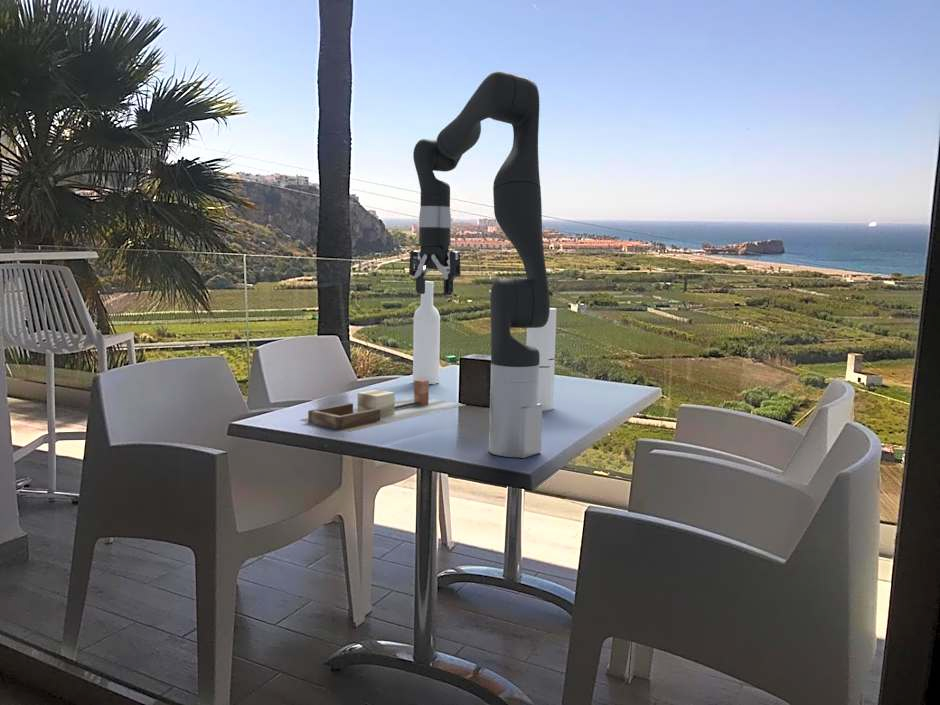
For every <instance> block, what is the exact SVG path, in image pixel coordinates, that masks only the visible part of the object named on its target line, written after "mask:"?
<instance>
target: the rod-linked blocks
mask: <svg viewBox="0 0 940 705" xmlns="http://www.w3.org/2000/svg"><path fill="white" fill-rule="evenodd" d="M413 386H414V387H413V390H414V392H413V397H414V402H412V403H407V404H402V405H397V406H395V401H396V400H395V398H396V393H395V392H393V391H392V392H391V391H387V390H380V389H371V390H367V391H360V392H357V409H358V412H361V411H366V410H371V409H376V408H377V409H380V417H384V416H388V415H393V414H395V409H398V408H403V407H408V406H412V405H420V406H423V405H428V398H429V391H430V390H429V387H430V385H429V380H422V379H420V380H414V383H413Z"/></svg>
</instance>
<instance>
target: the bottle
mask: <svg viewBox="0 0 940 705" xmlns="http://www.w3.org/2000/svg"><path fill="white" fill-rule="evenodd" d="M434 288H435V285H434V281H432V280H431V281H429V280H425V293H424V294H420V306H418V307H417V308H416V309H415V312H414V315H413V332H412V336H413V337H412V338H413V342H412V344H413V346H412V348H413V349H412V351H413V352H412V353H413V355H412V356H413V357H412V360H413V361H412V383H413V384H414V380H420V379H422V380H429V384H434V385H437V384H436V383H438V384H439V383H440V376H441V375H440V355H441V354H440V349H441V348H440V346H441V344H440V343H441V339H440V338H441V331H440V330H441V316H440V313H439V312H440V311H439V310H438V309H437V308H436V307H435V306H434Z"/></svg>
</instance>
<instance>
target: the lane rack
mask: <svg viewBox="0 0 940 705" xmlns="http://www.w3.org/2000/svg"><path fill="white" fill-rule="evenodd" d="M412 402H414V396H413V397H409V398H404V399H399V400H395V406H397V405H402V404H407V403H412ZM460 407H467V404H464V403H459V402H451V401H446V400H442V399H435V398H431V397H430V398H429V397H428V405H423V406H420V405H412V406H408V407H403V408H398V409H395V414H393V415H388V416H384V417H380V409H377V408H376V409H371V410H366V411H361V412H358V408H354V403H350V402H348V403H342V404H337V405H331V406H328V407H327V406H326V407H322V408H321V407H320V408H316V409H315V408H314V409H311V410H308V414H307V418H303V419H300V421H301V422H306V423H311V424H315V425H319V426H324V427H327V428H333V429H336V430H340V431H345V432H353V431H358V430H362V429H366V428H371V427H375V426H380V425H384V424H388V423H393V422H397V421H401V420H407V419H411V418H415V417H420V416H425V415H429V414H433V413H437V412H442V411H445V410H450V409H455V408H460Z"/></svg>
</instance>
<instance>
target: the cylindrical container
mask: <svg viewBox="0 0 940 705" xmlns="http://www.w3.org/2000/svg"><path fill="white" fill-rule="evenodd" d="M556 331H557V308H555V307H550V312H549V318H548V321H547V323H546V325H545V326H543V327H539V328H526V344H525V345H528V346H531V347H534V348H536V349H537V350H538V351H539V354H540V360H539V389H538V403H540V404H542V412H543V411H550V410H553V409H554V397H555V396H554V391H555V388H554V387H555V367H556V366H555V363H556V362H555V361H556V360H555V359H556V358H555V356H556V334H557V333H556Z"/></svg>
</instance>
